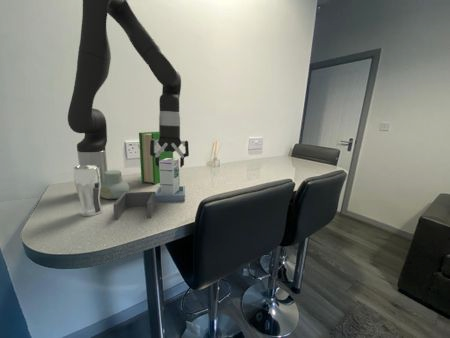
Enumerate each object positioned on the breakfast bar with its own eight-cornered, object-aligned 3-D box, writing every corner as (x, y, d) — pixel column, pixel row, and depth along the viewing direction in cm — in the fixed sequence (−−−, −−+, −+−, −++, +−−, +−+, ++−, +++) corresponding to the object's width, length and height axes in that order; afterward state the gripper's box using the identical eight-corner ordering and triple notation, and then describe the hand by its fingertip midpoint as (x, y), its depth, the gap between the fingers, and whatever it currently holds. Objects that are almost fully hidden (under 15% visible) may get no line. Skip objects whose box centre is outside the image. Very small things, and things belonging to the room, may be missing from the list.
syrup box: (174, 197, 78) (173, 161, 74) (160, 196, 79) (158, 160, 75) (179, 193, 83) (179, 158, 80) (166, 191, 84) (165, 157, 81)
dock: (114, 219, 61) (113, 204, 60) (124, 205, 71) (123, 192, 70) (151, 217, 63) (150, 203, 62) (155, 204, 73) (155, 191, 72)
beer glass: (99, 205, 70) (95, 163, 66) (107, 212, 66) (103, 167, 62) (75, 212, 64) (69, 166, 61) (83, 219, 60) (76, 170, 57)
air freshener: (94, 197, 76) (91, 172, 74) (112, 191, 84) (111, 168, 82) (116, 202, 73) (114, 176, 71) (133, 195, 81) (132, 171, 78)
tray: (154, 202, 75) (154, 195, 74) (158, 192, 85) (158, 186, 85) (184, 201, 77) (184, 195, 76) (184, 191, 87) (184, 186, 87)
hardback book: (155, 184, 95) (153, 133, 90) (141, 183, 97) (138, 132, 92) (173, 175, 112) (172, 132, 107) (161, 174, 114) (160, 131, 108)
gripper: (147, 123, 70) (149, 168, 73) (189, 125, 73) (188, 169, 76) (151, 123, 77) (152, 164, 81) (188, 125, 80) (188, 165, 83)
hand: (170, 166), depth 78 cm, fingers open, 8 cm apart
